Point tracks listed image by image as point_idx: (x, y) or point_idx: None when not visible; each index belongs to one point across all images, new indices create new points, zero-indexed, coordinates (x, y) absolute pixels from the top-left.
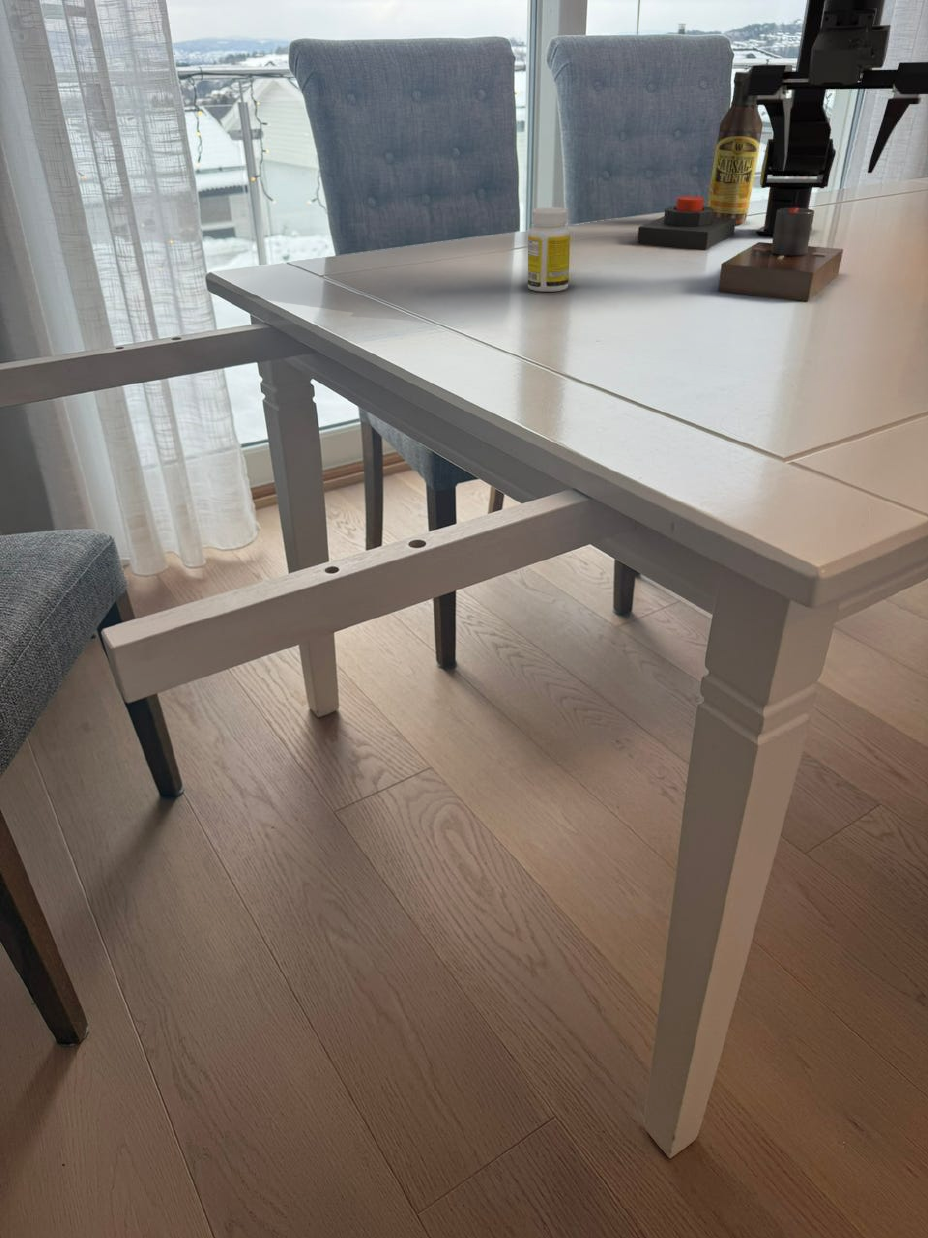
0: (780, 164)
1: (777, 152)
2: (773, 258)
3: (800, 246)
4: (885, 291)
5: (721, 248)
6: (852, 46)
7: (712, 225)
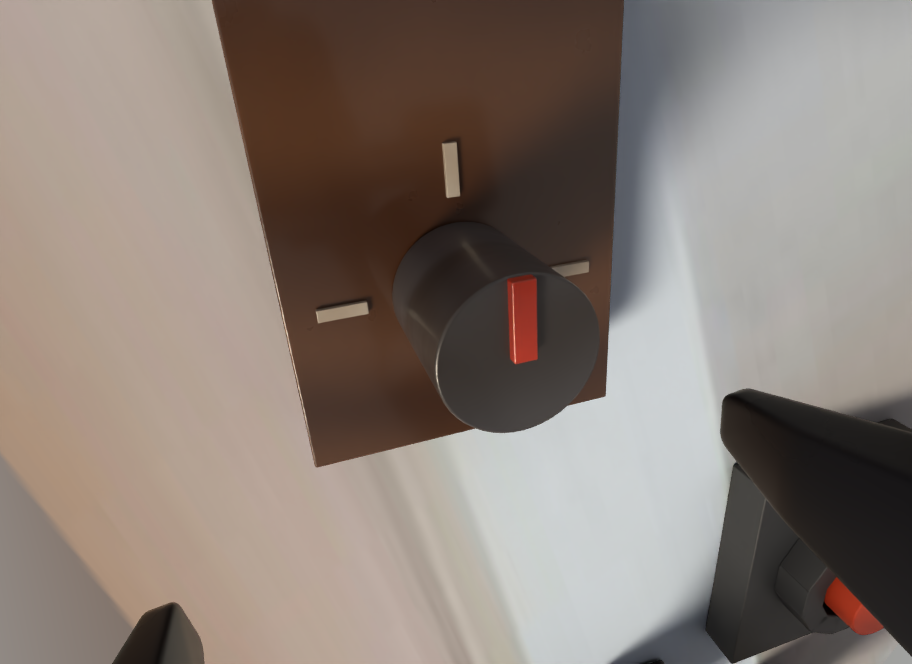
0: (768, 399)
1: (863, 421)
2: (473, 150)
3: (412, 264)
4: (45, 304)
5: (701, 501)
6: None
7: (769, 567)
